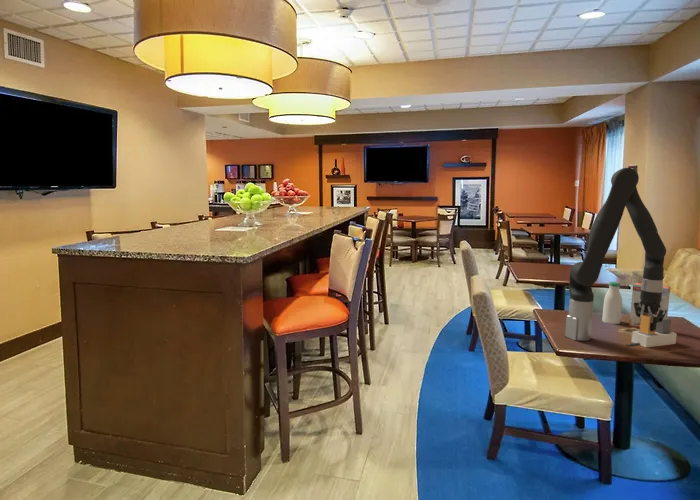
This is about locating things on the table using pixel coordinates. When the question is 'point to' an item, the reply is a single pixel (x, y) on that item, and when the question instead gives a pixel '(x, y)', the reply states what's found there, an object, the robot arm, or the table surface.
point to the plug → (646, 325)
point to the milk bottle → (612, 304)
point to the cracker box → (636, 298)
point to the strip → (655, 336)
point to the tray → (628, 331)
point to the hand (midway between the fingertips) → (647, 329)
